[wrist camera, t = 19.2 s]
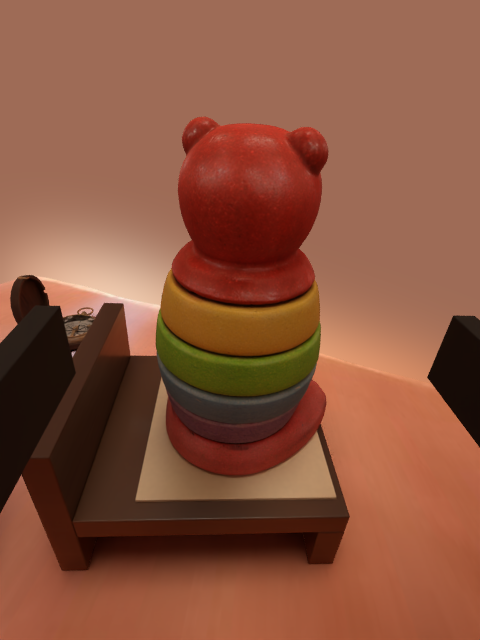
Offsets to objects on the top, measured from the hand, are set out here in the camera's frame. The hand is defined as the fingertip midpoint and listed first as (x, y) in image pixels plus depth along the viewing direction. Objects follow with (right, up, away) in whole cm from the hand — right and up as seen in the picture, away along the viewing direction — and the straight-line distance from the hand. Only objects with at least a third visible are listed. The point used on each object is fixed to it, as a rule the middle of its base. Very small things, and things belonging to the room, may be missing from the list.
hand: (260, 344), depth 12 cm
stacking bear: (-1, -6, +12) cm, 14 cm away
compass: (-20, -1, +29) cm, 35 cm away
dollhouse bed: (-3, -10, +15) cm, 18 cm away
